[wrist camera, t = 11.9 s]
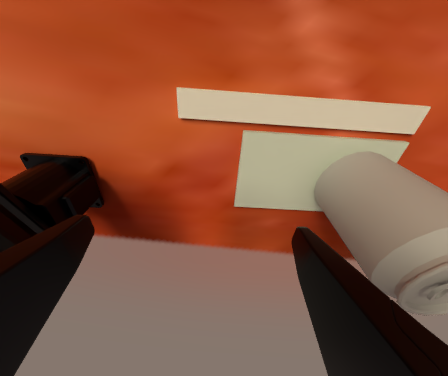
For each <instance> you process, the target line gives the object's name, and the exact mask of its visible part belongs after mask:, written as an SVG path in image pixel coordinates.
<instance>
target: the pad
mask: <svg viewBox="0 0 448 376" xmlns="http://www.w3.org/2000/svg"><path fill="white" fill-rule="evenodd" d="M408 144H409V142H406V141H396V140H382V139H367V138H353V137H338V136H323V135H309V134H294V133H280V132H265V131H251V130H243V136H242V144H241V152H240V160H239V168H238V176H237V185H236V193H235V201H234V206H235V207H253V208H271V209H289V210H307V211H323V210H322V209H321V207H320V206H319V204H318V203H317V201H316V200H315V194H314V190H315V186H316V182H317V180H318V179H319V177H320V175H321V174H322V172H323V171H324V170H325V169H327V168H328V167H329V166H330V165H331V164H332V163H334V162H335V161H337V160H339V159H340V158H342V157H344V156H347V155H350V154H353V153H356V152H367V151H371V152H374V153H378V154H381V155H383V156H385V157H386V158H388V159H390V160H392V161H393V162H395V163H397V162H398V160H399V158H400V157H401V155H402V154H403V152H404V151H405V149H406V148H407V146H408Z"/></svg>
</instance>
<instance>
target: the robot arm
mask: <svg viewBox="0 0 448 376" xmlns="http://www.w3.org/2000/svg"><path fill="white" fill-rule="evenodd" d="M20 158H21V160H22V162H23V164H24V165H25V167H26V169H27V170H25V171H23V172H21V173H20V174H18V175H16V176H14V177H12V178H10V179H8V180H6V181H4V182H3V183H0V376H14V375H15V373H16V371H17V370H18V368H19V366H20V365H21V363H22V361H23V360H24V358H25V356H26V355H27V353H28V351H29V349H30V348H31V346H32V345H33V343H34V341H35V340H36V338H37V336H38V334H39V333H40V331H41V329H42V328H43V326H44V324H45V323H46V321H47V319H48V318H49V316H50V314H51V313H52V311H53V309H54V307H55V306H56V304H57V303H58V301H59V299H60V298H61V296H62V294H63V292H64V291H65V289H66V287H67V286H68V284H69V282H70V281H71V279H72V277H73V276H74V274H75V272H76V270H77V268H78V267H79V265H80V263H81V261H82V259H83V257H84V254H85V252H86V250H87V248H88V246H89V244H90V242H91V239H92V237H93V235H94V231H95V230H94V227H93V224H92V222H91V220H90V218H89V217H88V216H87V215H83V214H84V213H85V212H86V211H87V210H88V209H89V208H90V207H97V208H100V207H102V206H103V205H104V202H103V199H102V196H101V193H100V191H99V188H98V185H97V183H96V180H95V177H94V175H93V172H92V169H91V167H90V164H89V161H88V159H87V158H85V157H82V156H68V155H52V154H36V153H24V154H22V155H20ZM82 161H83V162H84V163H83V162H82ZM292 248H293V253H294V258H295V264H296V269H297V274H298V278H299V282H300V285H301V289H302V292H303V295H304V298H305V302H306V305H307V308H308V311H309V315H310V318H311V321H312V325H313V328H314V331H315V334H316V337H317V341H318V344H319V348H320V350H321V354H322V357H323V361H324V364H325V367H326V370H327V373H328V376H448V345H447V344H445V343H444V342H443V341H441V340H440V339H439V338H438V337H436V336H435V335H434V334H433V333H431V332H430V331H429V330H427V329H426V328H425V327H424V326H423V325H421V324H420V323H419V322H418V321H417V320H415V319H414V318H413V317H412V316H411V315H409V314H408V313H407V312H406V311H405V310H403V309H402V308H401V307H400V306H399V305H398V304H396V303H395V302H394V301H393V300H390V298H389V297H388V296H387V295H386V294H385V293H383V292H382V291H381V290H380V289H379V288H378V287H376V286H375V285H374V284H373V283H372V282H371V281H369V280H368V279H367V278H366V277H365V276H364V275H362V274H361V273H360V272H359V271H358V270H357V269H355V268H354V267H353V266H352V265H351V264H350V263H348V262H347V261H346V260H345V259H344V258H343V257H341V256H340V255H339V254H338V253H337V252H336V251H334V250H333V249H332V248H331V247H330V246H329V245H327V244H326V243H325V242H324V241H323V240H322V239H320V238H319V237H318V236H317V235H316V234H315V233H313V232H312V231H311V230H310V229H309V228H307V227H297V228H296V230H295V233H294V235H293V238H292Z"/></svg>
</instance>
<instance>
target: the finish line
mask: <svg viewBox="0 0 448 376" xmlns="http://www.w3.org/2000/svg"><path fill="white" fill-rule="evenodd" d="M177 102H178V117H179V118H188V119H202V120H216V121H231V122H245V123H259V124H274V125H288V126H302V127H316V128H331V129H345V130H359V131H374V132H388V133H402V134H414V133H415V132H416V130H417V129H418V127H419V126H420V124H421V122H422V121H423V119H424V118H425V116H426V115H427V113H428V111H429V110H430V108H431V107H429V106H419V105H406V104H393V103H380V102H366V101H353V100H340V99H326V98H313V97H300V96H287V95H273V94H260V93H247V92H233V91H220V90H207V89H193V88H180V87H177Z"/></svg>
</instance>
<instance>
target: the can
mask: <svg viewBox="0 0 448 376" xmlns="http://www.w3.org/2000/svg"><path fill="white" fill-rule="evenodd" d="M314 194H315V200H316V201H317V203H318V204H319V206H320V207H321V209H322V210H323V212H324V213H325V215H326V216H327V218H328V219H329V221H330V222H331V224H332V225H333V227H334V228H335V230H336V231H337V233H338V234H339V235H340V237H341V238H342V240H343V241H344V243H345V244H346V246H347V247H348V249H349V250H350V252H351V253H352V255H353V256H354V258H355V259H356V261H357V262H358V264H359V265H360V267H361V268H362V270H363V271H364V273H365V274H366V276H367V277H368V279H369V280H370V281H371V282H372V283H373V284H374V285H375V286H376V287H378V288H379V289H380V290H381V291H382V292H383V293H385V294H386V295H389V296H391V297H393V298H396V299H397V303H398V304H399V306H400V307H401V308H402V309H403V310H405V311H407V312H410V313H412V314H418V315H445V314H448V193H447V192H446V191H444V190H442V189H440V188H439V187H437V186H435V185H433V184H432V183H430V182H428V181H426V180H425V179H423V178H421V177H420V176H418V175H416V174H414V173H413V172H411V171H409V170H407V169H406V168H404V167H402V166H400V165H399V164H397V163H395V162H393V161H392V160H390V159H388V158H386V157H385V156H383V155H381V154H378V153H374V152H371V151H367V152H356V153H353V154H350V155H347V156H344V157H342V158H340V159H339V160H337V161H335V162H334V163H332V164H331V165H330V166H329V167H328V168H327V169H325V170H324V171H323V172H322V174H321V175H320V177H319V179H318V180H317V182H316V186H315V190H314Z"/></svg>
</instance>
